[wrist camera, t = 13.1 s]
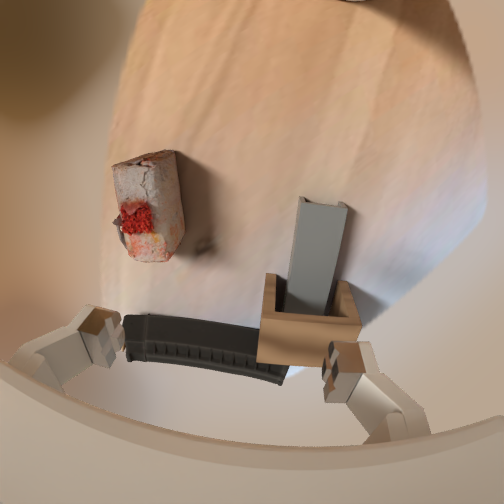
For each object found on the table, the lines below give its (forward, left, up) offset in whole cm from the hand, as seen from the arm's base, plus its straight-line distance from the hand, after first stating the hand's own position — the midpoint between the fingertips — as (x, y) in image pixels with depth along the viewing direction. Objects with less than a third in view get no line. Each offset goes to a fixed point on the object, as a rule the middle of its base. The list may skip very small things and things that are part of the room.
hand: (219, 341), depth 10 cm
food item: (+4, -14, -29) cm, 33 cm away
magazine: (+26, -7, -29) cm, 40 cm away
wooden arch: (+18, +8, -29) cm, 35 cm away
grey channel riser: (+12, +8, -29) cm, 32 cm away
